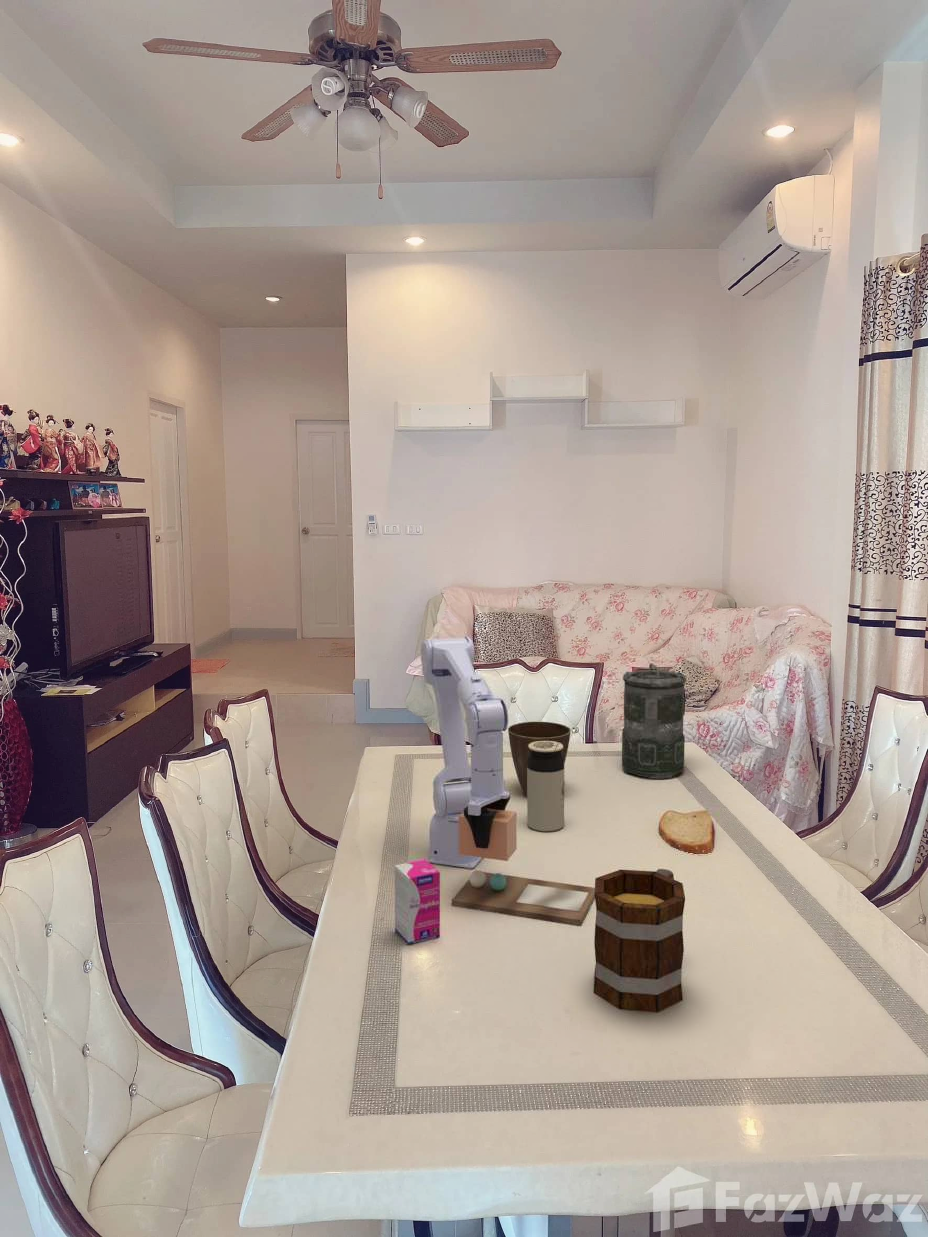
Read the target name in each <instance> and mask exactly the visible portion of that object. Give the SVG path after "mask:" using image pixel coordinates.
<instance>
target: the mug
mask: <svg viewBox="0 0 928 1237" xmlns="http://www.w3.org/2000/svg"><path fill="white" fill-rule="evenodd" d="M594 879H595V880H594V888H595V899H594V900H595V910H596V911H595V912H596V916H595V923H594V924H595V926H594V941H593V942H594V956H595V966H594V974H593V994H594V995H596V996H598V997H599V998H601V999H602V1000H604V1001H606V1002H607V1003H609V1004H610V1005H612V1006H613V1007H615V1008H617V1009H619V1010H622V1011H624V1010H625V1011H633V1012H635V1011H636V1012H644V1013H645V1012H647V1013H657V1014H658V1013H660V1012H662V1011H663V1010H666V1009H668V1008H669V1007H673V1006H674V1005H676V1004H678V1003H680V1002H682V1001H684V999H683V988H682V987H683V986H682V971H683V970H682V969H683V968H682V967H683V962H684V961H683V960H684V959H683V958H684V954H685V953H684V952H685V948H684V947H685V946H684V934H683V929H684V928H683V921H684V920H683V919H684V909H685V904H686V894H685V890H684V885H683V883H682V881H681V882H680V881H678V880H677V879H675V877H674V873H673V871H672V870H670V869H666V868H665V869H664V868H658V869H657V870H656V871H655V870H654V871H652V870H651V871H650V870H639V869H638V870H634V869H618V870H615V871H613V872H609V873H607V874H603V875H601V876H597V877H595V878H594Z"/></svg>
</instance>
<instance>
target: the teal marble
mask: <svg viewBox="0 0 928 1237" xmlns="http://www.w3.org/2000/svg"><path fill="white" fill-rule="evenodd" d="M503 875H504V874H502V873H500V872H498V873H496V872H495V873H494V875H492V876H491V878H490V886H491V888H492V889H494V890H496V891H500V890H502V889H504V887H505V886H506V878H505V877H504V876H503Z"/></svg>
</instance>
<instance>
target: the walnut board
mask: <svg viewBox="0 0 928 1237" xmlns="http://www.w3.org/2000/svg"><path fill="white" fill-rule="evenodd" d="M482 872H483V873H484V874H485V876H486V883H485V884H484V885H483V886H482V887H480V888H476V887H474V886H472V885H471V883H470V878H469V879H468V880H467V882H465V883H464V885H463V886H461V888H460V889H459V891H458V892H457V893H456V894H455V895H454V897H453V898H452V899H451V906H452V907H453V906H454V907H459V908H464V907H465V909H466V908H467V909H471V908H472V909H471V910H477V909H480V910H479V911H483V910H486V911H485V912H490V913H496V912H498V914H502V913H504V914H503V915H509V916H510V915H511V916H515V917H522V918H523V917H524V918H530V919H534V920H541V921H547V922H555V923H561V924H566V925H574V926H579V927H580V926H582V924H583V923H584V921H585V919H586V916H587V914H588V913H589V912H590V909H591V906H592V905H593V903H594V900H595V887H592V886H584V885H579V884H578V885H577V884H570V883H564V882H557V881H549V880H541V879H535V878H529V877H528V878H527V877H522V876H514V875H507V874H502V875H503V876H504V877H505V878H506V886H505V887H504V889H502V890H500V891H496V890H494V889H492V888H491V886H490V878H491V876H492V875H494V874H495V873H493V872H487V871H482Z"/></svg>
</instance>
